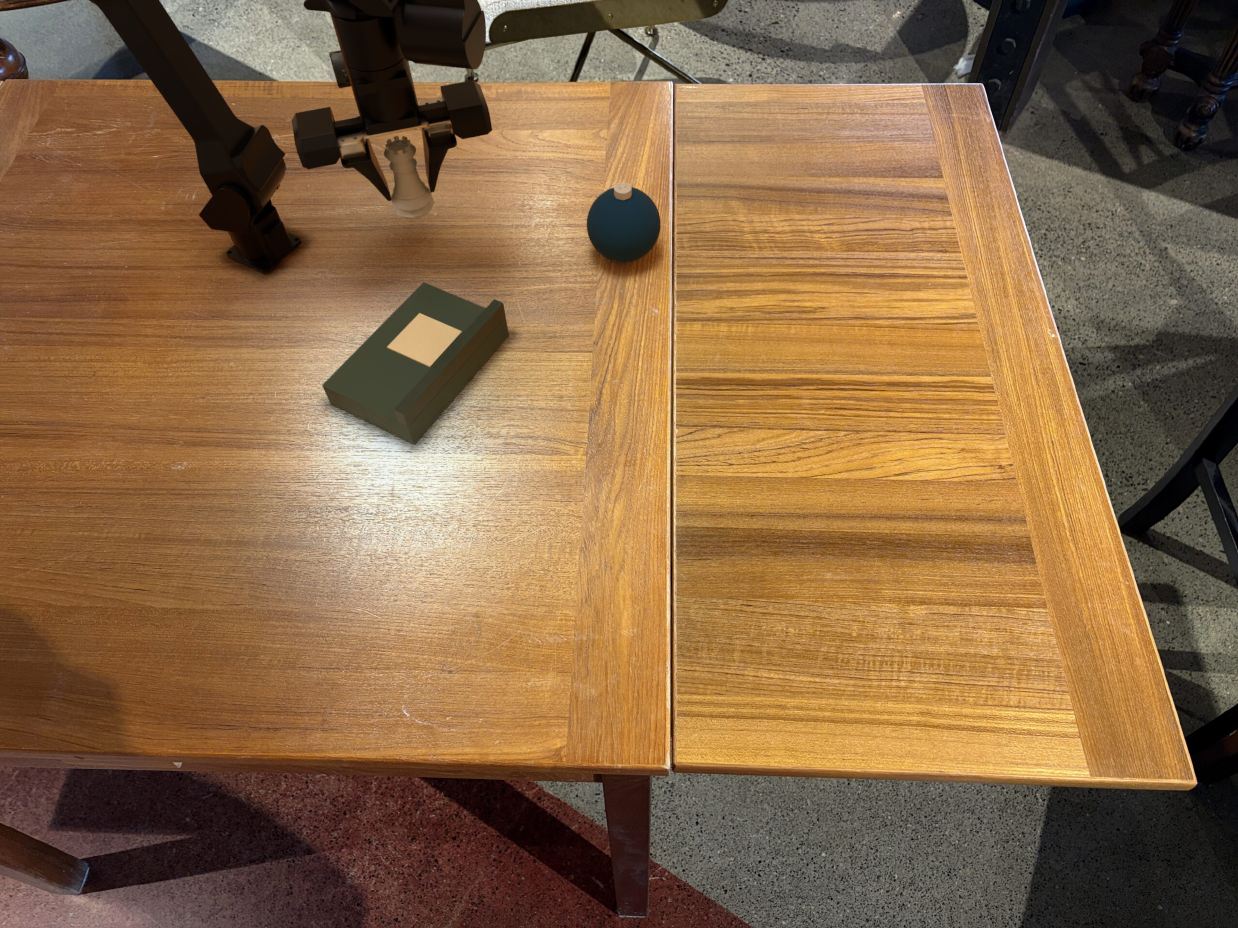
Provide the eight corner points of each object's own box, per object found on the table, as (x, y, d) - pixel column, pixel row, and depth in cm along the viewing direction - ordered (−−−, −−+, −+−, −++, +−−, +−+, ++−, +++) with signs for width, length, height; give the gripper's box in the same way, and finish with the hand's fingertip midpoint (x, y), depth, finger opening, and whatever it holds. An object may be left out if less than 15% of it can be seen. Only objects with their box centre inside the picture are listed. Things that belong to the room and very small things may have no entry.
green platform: (330, 403, 93) (315, 372, 89) (428, 301, 101) (419, 268, 97) (414, 445, 89) (403, 414, 85) (509, 335, 98) (503, 302, 94)
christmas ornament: (642, 221, 108) (642, 150, 100) (671, 265, 104) (674, 194, 95) (577, 241, 106) (572, 170, 98) (605, 286, 102) (601, 216, 94)
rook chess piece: (394, 196, 97) (376, 132, 91) (435, 192, 98) (420, 128, 91) (392, 223, 95) (374, 159, 88) (434, 219, 95) (419, 155, 89)
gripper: (458, -6, 88) (482, 133, 101) (265, 27, 85) (315, 166, 98) (480, 54, 82) (503, 194, 94) (274, 92, 79) (325, 231, 92)
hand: (410, 194), depth 95 cm, fingers closed on rook chess piece, 4 cm apart
